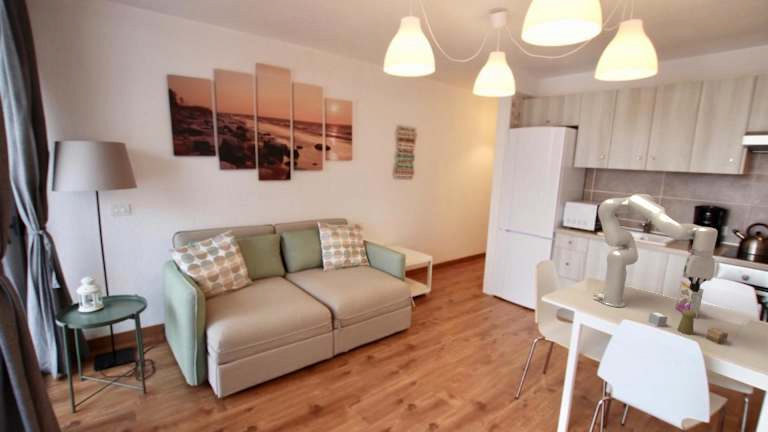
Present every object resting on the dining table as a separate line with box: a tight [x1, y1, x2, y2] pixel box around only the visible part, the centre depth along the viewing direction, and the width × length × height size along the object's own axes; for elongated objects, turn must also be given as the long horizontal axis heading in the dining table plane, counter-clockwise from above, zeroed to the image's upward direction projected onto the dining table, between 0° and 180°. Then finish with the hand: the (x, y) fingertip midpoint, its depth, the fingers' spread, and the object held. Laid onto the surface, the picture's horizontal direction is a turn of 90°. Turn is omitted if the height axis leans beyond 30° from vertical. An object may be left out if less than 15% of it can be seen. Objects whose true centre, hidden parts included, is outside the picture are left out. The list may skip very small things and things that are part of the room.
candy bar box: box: [675, 280, 704, 319], centre depth 192 cm, size 11×5×16 cm, turn 168°
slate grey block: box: [647, 311, 668, 327], centre depth 179 cm, size 5×5×5 cm
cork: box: [676, 310, 696, 336], centre depth 171 cm, size 6×6×11 cm
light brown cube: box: [705, 327, 729, 345], centre depth 164 cm, size 5×5×5 cm
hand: (693, 290), depth 168 cm, fingers closed
